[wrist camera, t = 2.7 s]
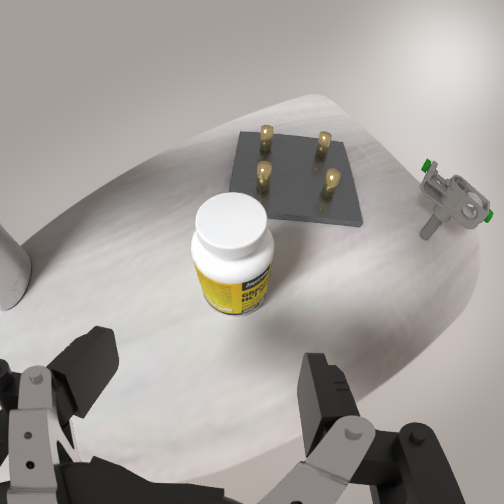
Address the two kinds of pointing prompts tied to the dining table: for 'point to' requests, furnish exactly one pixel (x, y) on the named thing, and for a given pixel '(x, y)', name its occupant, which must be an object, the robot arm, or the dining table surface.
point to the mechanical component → (452, 201)
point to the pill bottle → (232, 253)
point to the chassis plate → (296, 177)
